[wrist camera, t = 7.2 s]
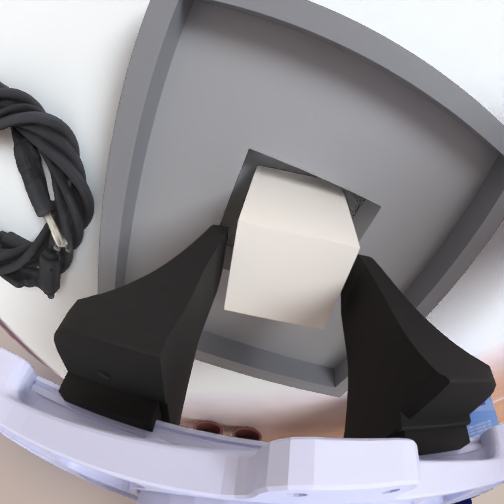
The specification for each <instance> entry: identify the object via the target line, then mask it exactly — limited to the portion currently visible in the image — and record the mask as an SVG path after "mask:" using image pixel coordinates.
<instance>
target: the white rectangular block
mask: <svg viewBox="0 0 504 504" xmlns="http://www.w3.org/2000/svg"><path fill="white" fill-rule="evenodd" d="M359 249H360V246H359V242H358V238H357V235H356V231H355V228H354V225H353V221H352V218H351V215H350V211H349V208H348V205H347V202H346V198H345V195H344V192H343V189H342V187H340V186H338V185H336V184H333V183H331V182H329V181H327V180H323V179H319V178H315V177H311V176H306V175H302V174H297V173H293V172H288V171H283V170H279V169H274V168H269V167H264V166H259V165H257V168H256V171H255V174H254V177H253V179H252V182H251V185H250V188H249V191H248V194H247V197H246V200H245V202H244V205H243V208H242V211H241V214H240V217H239V220H238V225H237V231H236V237H235V243H234V249H233V255H232V262H231V268H230V274H229V281H228V287H227V293H226V300H225V306H224V310H228V311H233V312H238V313H242V314H247V315H252V316H257V317H262V318H267V319H272V320H277V321H282V322H287V323H292V324H298V325H303V326H309V327H314V328H320V329H323V328H324V326H325V324H326V322H327V320H328V318H329V316H330V314H331V312H332V310H333V308H334V305H335V303H336V301H337V299H338V297H339V295H340V293H341V290H342V288H343V286H344V284H345V282H346V279H347V277H348V275H349V273H350V270H351V268H352V266H353V264H354V261H355V259H356V257H357V254H358V252H359Z"/></svg>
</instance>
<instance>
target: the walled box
mask: <svg viewBox="0 0 504 504" xmlns="http://www.w3.org/2000/svg"><path fill="white" fill-rule="evenodd" d="M249 149H252V150H254V151H257V152H259V153H262V154H265V155H267V156H270V157H272V158H275V159H277V160H280V161H282V162H285V163H287V164H289V165H292V166H294V167H297V168H299V169H301V170H304V171H306V172H308V173H311V174H313V175H315V176H318V177H320V178H322V179H324V180H327V181H329V182H331V183H333V184H336V185H338V186H340V187H342V188H344V189H346V190H349V191H351V192H353V193H355V194H357V195H359V196H361V197H363V198H365V199H364V201H363V202H362V204H361V206H360V208H359V209H358V211H357V213H356V214H355V216H354V218H353V219H352V221H353V225H354V228H355V231H356V235H357V238H358V242H359V246H360V249H359V252H358V254H360V255H364V256H369V257H372V258H373V259H374V260H375V261H376V262H377V264H378V265H379V266H380V267H381V268H382V269H383V271H384V272H385V273H386V274H387V275H388V277H389V278H390V279H391V280H392V282H393V283H394V284H395V285H396V286H397V288H398V289H399V290H400V291H401V292H402V294H403V295H404V296H405V297H406V298H407V299H408V300H409V302H410V303H411V304H412V305H413V306H414V307H415V308H416V309H417V310H418V311H419V312H420V313H421V314H422V315H423V316H424V317H426V316H427V315H428V314H429V313H430V312H431V311H432V310H433V309H434V308H435V306H436V305H437V304H438V303H439V302H440V301H441V300H442V299H443V297H444V296H445V295H446V294H447V293H448V292H449V291H450V289H451V288H452V287H453V286H454V285H455V283H456V282H457V281H458V280H459V279H460V277H461V276H462V275H463V274H464V272H465V271H466V270H467V269H468V267H469V266H470V265H471V263H472V262H473V261H474V260H475V258H476V257H477V256H478V254H479V253H480V252H481V250H482V249H483V248H484V246H485V245H486V243H487V242H488V241H489V239H490V238H491V236H492V235H493V234H494V232H495V231H496V229H497V228H498V226H499V225H500V223H501V222H502V220H503V219H504V125H503V124H502V123H500V122H499V121H498V120H497V119H496V118H495V117H494V116H493V115H492V114H491V113H490V112H489V111H488V110H486V109H485V108H484V107H483V106H482V105H481V104H480V103H478V102H477V101H476V100H475V99H474V98H473V97H471V96H470V95H469V94H468V93H467V92H465V91H464V90H463V89H462V88H460V87H459V86H458V85H457V84H455V83H454V82H453V81H451V80H450V79H449V78H447V77H446V76H445V75H443V74H442V73H441V72H439V71H438V70H436V69H435V68H434V67H432V66H431V65H429V64H428V63H426V62H425V61H423V60H422V59H420V58H419V57H417V56H416V55H414V54H413V53H411V52H409V51H408V50H406V49H405V48H403V47H401V46H400V45H398V44H396V43H395V42H393V41H391V40H390V39H388V38H386V37H384V36H383V35H381V34H379V33H377V32H375V31H373V30H372V29H370V28H368V27H366V26H364V25H362V24H360V23H358V22H356V21H354V20H352V19H350V18H348V17H346V16H343V15H341V14H339V13H337V12H335V11H332V10H330V9H328V8H325V7H323V6H321V5H318V4H316V3H313V2H311V1H308V0H150V2H149V5H148V8H147V10H146V13H145V16H144V19H143V22H142V25H141V28H140V31H139V34H138V37H137V40H136V43H135V46H134V50H133V53H132V56H131V60H130V63H129V67H128V71H127V74H126V78H125V82H124V86H123V90H122V94H121V98H120V103H119V107H118V112H117V117H116V121H115V126H114V132H113V137H112V142H111V148H110V154H109V161H108V167H107V174H106V181H105V189H104V198H103V207H102V218H101V230H100V244H99V264H98V294H102V293H105V292H108V291H111V290H113V289H116V288H119V287H121V286H124V285H126V284H129V283H131V282H133V281H135V280H137V279H139V278H141V277H143V276H145V275H147V274H149V273H151V272H153V271H155V270H156V269H158V268H160V267H161V266H163V265H164V264H166V263H167V262H169V261H170V260H171V259H173V258H174V257H175V256H177V255H178V254H180V253H181V252H182V251H183V250H185V249H186V248H187V247H188V246H189V245H191V244H192V243H193V242H194V241H195V240H196V239H198V238H199V237H200V236H201V235H202V234H203V233H204V232H205V231H206V230H207V229H208V228H209V227H210V226H212V225H219V226H220V223H221V221H222V218H223V215H224V213H225V210H226V207H227V205H228V202H229V199H230V197H231V194H232V191H233V189H234V186H235V184H236V181H237V178H238V176H239V173H240V171H241V168H242V166H243V163H244V161H245V158H246V155H247V153H248V150H249ZM233 249H234V247H232V246H230V245H227V244H226V250H225V257H224V264H223V270H222V274H221V279H220V283H219V287H218V290H217V293H216V296H215V299H214V301H213V304H212V307H211V309H210V312H209V314H208V317H207V320H206V322H205V325H204V328H203V330H202V333H201V336H200V339H199V342H198V346H197V350H196V354H195V358H194V359H196V360H199V361H202V362H205V363H208V364H212V365H215V366H218V367H221V368H224V369H228V370H231V371H234V372H238V373H241V374H245V375H248V376H252V377H255V378H259V379H263V380H267V381H270V382H274V383H278V384H282V385H286V386H290V387H295V388H299V389H303V390H308V391H312V392H317V393H322V394H326V395H331V396H336V397H340V396H342V395H343V394H344V393H345V392H346V391H348V362H347V353H346V346H345V339H344V332H343V325H342V318H341V293H340V295H339V297H338V299H337V301H336V303H335V305H334V308H333V310H332V312H331V314H330V316H329V318H328V320H327V322H326V324H325V326H324V328H323V329H320V328H314V327H309V326H303V325H298V324H292V323H287V322H282V321H277V320H272V319H267V318H262V317H257V316H252V315H247V314H242V313H238V312H233V311H228V310H224V306H225V300H226V293H227V287H228V281H229V274H230V268H231V262H232V255H233Z"/></svg>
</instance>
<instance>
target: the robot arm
mask: <svg viewBox="0 0 504 504" xmlns="http://www.w3.org/2000/svg"><path fill="white" fill-rule="evenodd" d="M228 230H229V227H224V226H219V225H212V226H210V227H209V228H208V229H207V230H206V231H205V232H204V233H203V234H202V235H201V236H200V237H199V238H198V239H196V240H195V241H194V242H193V243H192V244H191V245H189V246H188V247H187V248H186V249H185V250H183V251H182V252H181V253H180V254H178V255H177V256H175V257H174V258H173V259H171V260H170V261H169V262H167V263H166V264H164V265H163V266H161V267H160V268H158V269H156V270H155V271H153V272H151V273H149V274H147V275H145V276H143V277H141V278H139V279H137V280H135V281H133V282H131V283H129V284H126V285H124V286H121V287H119V288H116V289H113V290H111V291H108V292H105V293H102V294H98V295H94V296H91V297H87V298H83V299H79V300H77V301H76V303H75V304H74V305H73V306H72V308H71V309H70V310H69V312H68V313H67V315H66V316H65V318H64V319H63V321H62V323H61V324H60V326H59V327H58V329H57V331H56V332H55V334H54V342H55V345H56V348H57V351H58V353H59V355H60V357H61V359H62V361H63V363H64V365H65V366H66V368H67V370H68V373H67V374H66V376H65V378H64V380H63V383H62V384H61V386H60V385H57V384H55V383H53V382H51V381H49V380H47V379H44V378H42V377H40V376H38V375H37V374H36V371H35V369H34V368H33V366H32V365H31V364H30V363H29V362H27V360H25V359H24V358H22V357H20V356H18V355H16V354H14V353H12V352H10V351H9V350H7V349H5V348H0V432H1V433H2V434H3V435H4V436H6V437H7V438H9V439H11V440H12V441H14V442H15V443H17V444H19V445H20V446H22V447H23V448H25V449H27V450H29V451H30V452H32V453H34V454H35V455H37V456H39V457H41V458H42V459H44V460H46V461H48V462H50V463H52V464H53V465H56V466H58V467H59V468H61V469H63V470H65V471H67V472H69V473H71V474H73V475H75V476H77V477H80V478H82V479H84V480H86V481H88V482H91V483H93V484H95V485H97V486H100V487H102V488H105V489H107V490H110V491H112V492H115V493H117V494H120V495H123V496H125V497H128V498H131V499H134V500H137V504H453V503H456V502H459V501H462V500H465V499H468V498H471V497H474V496H477V495H480V494H482V493H484V492H487V491H489V490H491V489H493V488H495V487H497V486H499V485H501V484H502V483H504V424H499V425H496V426H493V427H491V428H489V429H488V430H486V431H485V432H484V433H482V434H481V436H477V437H471V438H469V434H468V429H467V425H469V424H470V423H471V418H470V415H469V414H471V413H472V412H473V411H474V410H475V409H477V408H478V407H479V406H480V405H481V404H483V403H484V402H485V401H486V400H487V399H488V398H489V397H490V396H491V394H492V393H493V392H494V389H495V386H496V383H495V380H494V377H493V374H492V371H491V369H490V366H489V365H487V364H485V363H484V362H482V361H480V360H479V359H477V358H475V357H474V356H472V355H470V354H469V353H467V352H466V351H464V350H463V349H462V348H460V347H459V346H457V345H456V344H455V343H453V342H452V341H451V340H449V339H448V338H447V337H446V336H445V335H443V334H442V333H441V332H440V331H439V330H437V329H436V328H435V327H434V326H433V325H432V324H431V323H430V322H429V321H428V320H427V319H426V318H425V317H424V316H423V315H422V314H421V313H420V312H419V311H418V310H417V309H416V308H415V307H414V306H413V305H412V304H411V303H410V302H409V300H408V299H407V298H406V297H405V296H404V295H403V294H402V292H401V291H400V290H399V289H398V288H397V286H396V285H395V284H394V283H393V282H392V280H391V279H390V278H389V277H388V275H387V274H386V273H385V272H384V271H383V269H382V268H381V267H380V266H379V265H378V264H377V262H376V261H375V260H374V259H373V258H372V257H369V256H364V255H360V254H357V257H356V259H355V261H354V264H353V266H352V268H351V270H350V273H349V275H348V277H347V279H346V282H345V284H344V286H343V288H342V290H341V318H342V325H343V332H344V339H345V346H346V353H347V362H348V397H347V413H346V424H345V432H344V438H327V437H288V438H283V439H277V440H273V441H271V442H264V441H257V440H249V439H243V438H237V437H231V436H225V435H220V434H214V433H209V432H204V431H200V430H195V429H191V428H186V427H182V426H179V424H180V419H181V414H182V410H183V405H184V400H185V396H186V391H187V387H188V383H189V378H190V374H191V370H192V366H193V362H194V358H195V354H196V350H197V346H198V342H199V339H200V336H201V333H202V330H203V328H204V325H205V322H206V320H207V317H208V314H209V312H210V309H211V307H212V304H213V301H214V299H215V296H216V293H217V290H218V287H219V283H220V279H221V274H222V270H223V264H224V257H225V250H226V244H227V237H228Z"/></svg>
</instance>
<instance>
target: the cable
mask: <svg viewBox="0 0 504 504" xmlns="http://www.w3.org/2000/svg"><path fill="white" fill-rule="evenodd" d="M8 127H11V131H12V137H13V142H14V156H15V159H16V164H17V167H18V170H19V172H20V174H21V176H22V179H23V182H24V185H25V189H26V191H27V193H28V197H29V199H30V201H31V203H32V206H33V207H34V210H35V212H36V214H37V216H38V217H44V218H45V219H46V222H47V223H46V224H45V226H44V227H43V229H42V231H41V232H40V234H39V235H38V237H37V238H36V239H35V241H34V242H30V241H28V240H26V239H24V238H22V237H20V236H19V235H17V234H15V233H13V232H9V233H5V232H3V231H1V232H0V276H1V277H2V278H3V279H5V280H6V281H8V282H9V283H10V284H12V285H13V286H15V287H17V288H21V287H23V286H25V287H34V286H35V287H39V288H40V289H41V290H43V292H44V293H45V294H46V295H48V298H50V299H53V298H54V293H55V292H56V291H57V290H58V289H59V287H60V274H61V273H63V272H64V271H66V270H67V269H68V267H69V266H70V264H71V262H72V258H73V250H74V249H76V248H77V247H78V246H79V244H80V242H81V240H82V238H83V231H84V229H85V228H86V227H87V226H88V224H89V223H90V221H91V219H92V216H93V212H94V202H93V197H92V194H91V191H90V189H89V187H88V185H87V183H86V176H85V171H84V167H83V164H82V161H81V159H80V153H79V145H78V142H77V140H76V137H75V135H74V133H73V132H72V130H71V129H70V128H69V126H68V125H67V124H66V123H65V122H63V121H62V120H61V119H59V118H57V117H56V116H53V115H51V114H48V113H46V112H45V110H44V109H43V107H42V106H41V105H40V103H38V102H37V101H36V100H35V99H34V98H33V97H32V96H30V95H29V94H27V93H25V92H23V91H21V90H18V89H13V88H9V87H7V86H6V85H4V84H3V83H1V82H0V130H3V129H5V128H8ZM37 148H38V149H39V151H40V153H41V155H42V156H43V158H44V160H45V162H46V164H47V166H48V168H49V170H50V172H51V179H52V186H53V191H54V197H55V199H54V201H51V200H50V197H49V192H48V188H47V183H46V178H45V175H44V172H43V168H42V165H41V157H40V155H39V152H38V149H37Z"/></svg>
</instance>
